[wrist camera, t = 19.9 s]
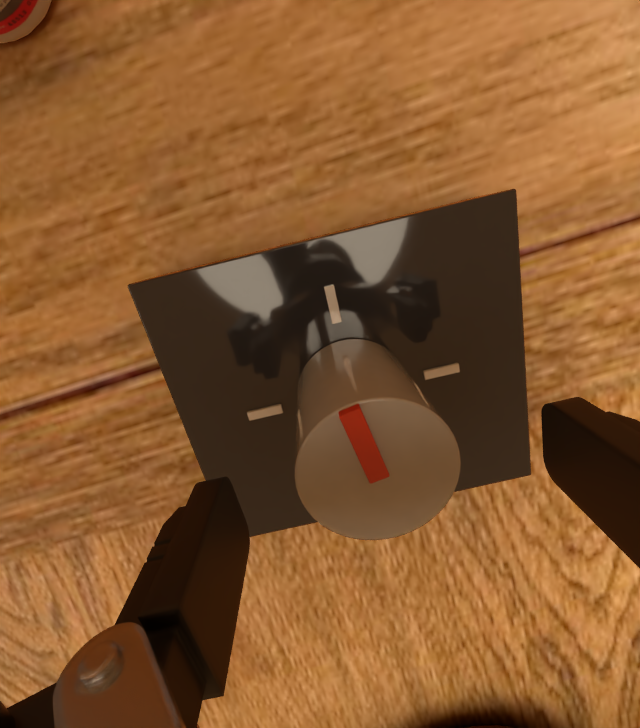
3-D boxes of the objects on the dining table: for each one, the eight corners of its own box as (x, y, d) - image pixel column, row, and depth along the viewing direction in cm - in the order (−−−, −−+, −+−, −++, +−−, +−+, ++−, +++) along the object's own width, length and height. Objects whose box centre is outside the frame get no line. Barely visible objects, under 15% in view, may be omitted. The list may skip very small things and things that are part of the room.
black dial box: (240, 498, 20) (229, 544, 17) (157, 275, 16) (124, 285, 13) (498, 440, 20) (534, 477, 17) (478, 196, 16) (519, 187, 13)
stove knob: (421, 416, 16) (485, 515, 10) (323, 454, 16) (334, 570, 10) (385, 320, 14) (437, 375, 9) (278, 365, 15) (264, 444, 9)
